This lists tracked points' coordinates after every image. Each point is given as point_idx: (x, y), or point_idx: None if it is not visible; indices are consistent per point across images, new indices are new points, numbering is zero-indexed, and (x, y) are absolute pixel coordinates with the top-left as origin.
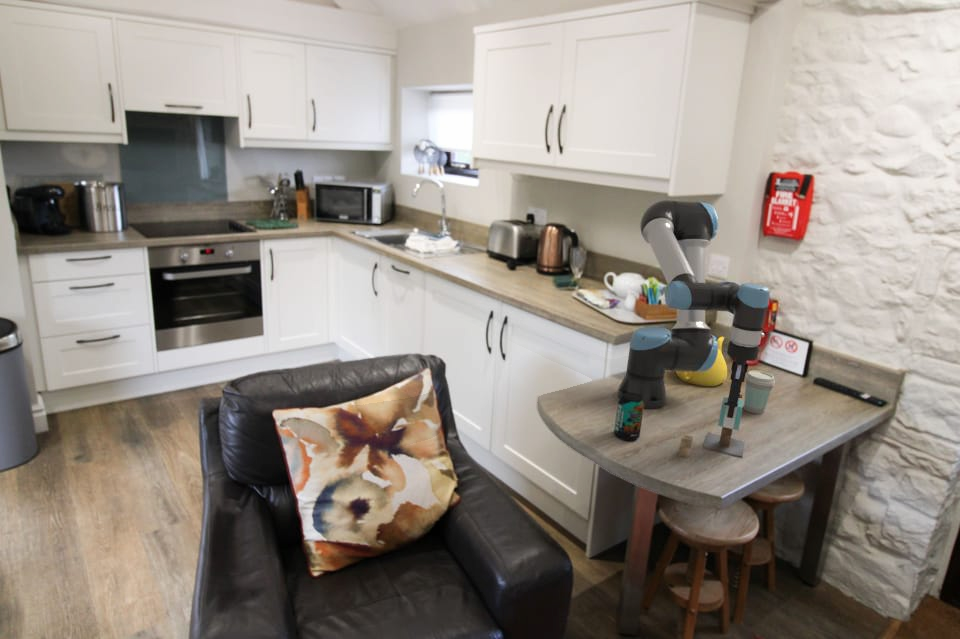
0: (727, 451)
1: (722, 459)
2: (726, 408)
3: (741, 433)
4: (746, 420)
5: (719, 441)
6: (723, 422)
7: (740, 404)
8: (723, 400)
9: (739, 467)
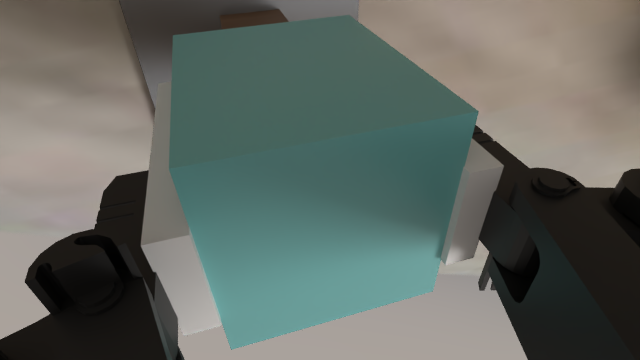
0: (161, 80)
1: (42, 74)
2: (147, 206)
3: (451, 81)
4: (597, 68)
5: (267, 8)
6: (158, 103)
7: (319, 306)
8: (321, 147)
9: (39, 166)
